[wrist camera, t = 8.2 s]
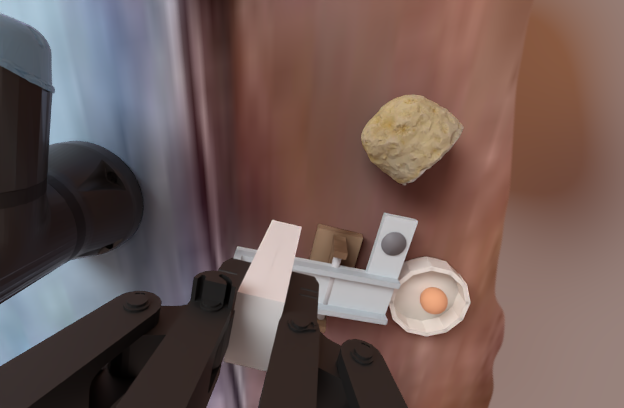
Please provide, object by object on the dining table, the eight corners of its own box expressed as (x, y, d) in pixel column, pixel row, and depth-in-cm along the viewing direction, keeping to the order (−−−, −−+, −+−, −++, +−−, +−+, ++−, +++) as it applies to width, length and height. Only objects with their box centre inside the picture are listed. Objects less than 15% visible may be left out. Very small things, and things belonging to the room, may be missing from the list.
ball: (423, 318, 43) (447, 321, 44) (433, 295, 42) (457, 298, 43) (412, 302, 46) (434, 304, 47) (420, 280, 45) (442, 283, 46)
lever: (227, 299, 42) (223, 314, 39) (248, 184, 37) (245, 191, 34) (378, 324, 44) (384, 339, 41) (415, 218, 40) (424, 228, 37)
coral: (417, 218, 36) (366, 165, 31) (385, 170, 44) (340, 120, 39) (496, 162, 33) (455, 93, 28) (447, 121, 41) (407, 60, 36)
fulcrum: (298, 299, 48) (294, 328, 42) (318, 223, 44) (316, 243, 38) (339, 308, 48) (340, 339, 42) (361, 234, 44) (367, 255, 38)
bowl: (376, 312, 48) (379, 325, 45) (398, 249, 45) (403, 259, 42) (445, 328, 48) (453, 342, 45) (471, 266, 45) (481, 277, 42)
